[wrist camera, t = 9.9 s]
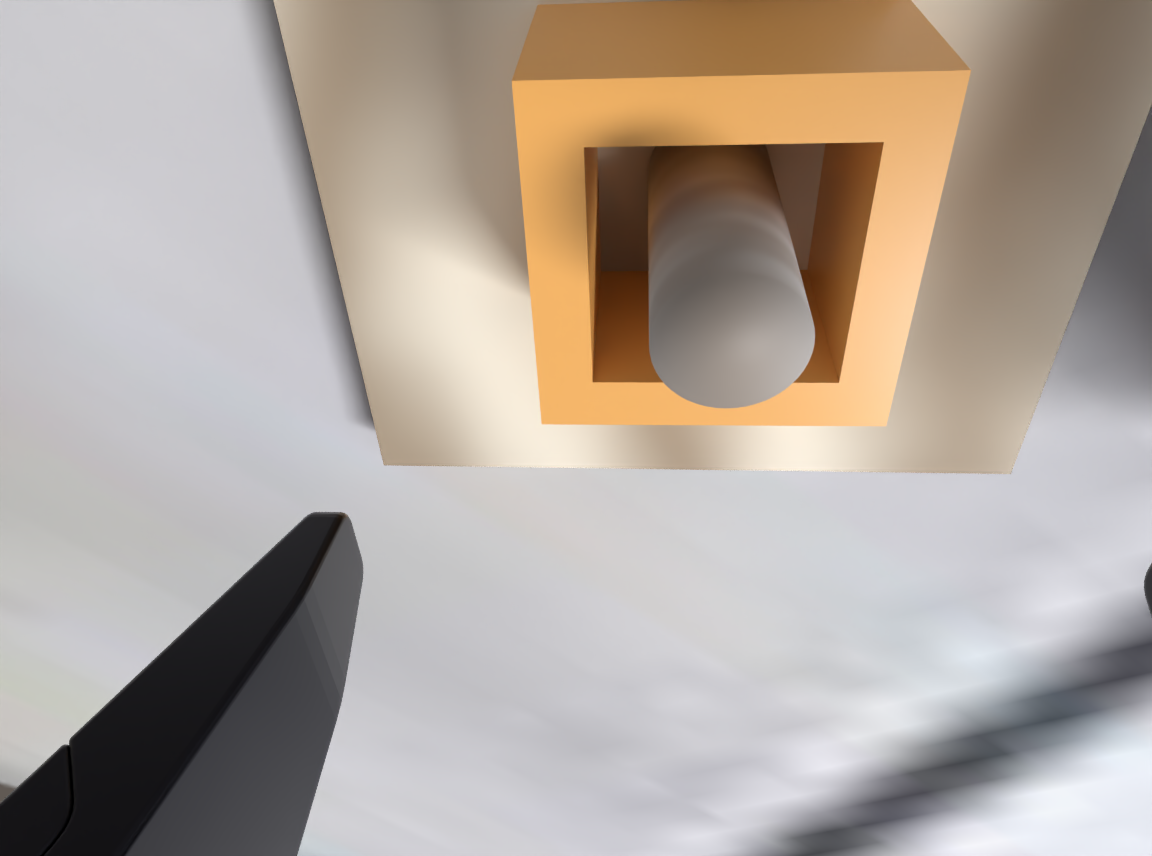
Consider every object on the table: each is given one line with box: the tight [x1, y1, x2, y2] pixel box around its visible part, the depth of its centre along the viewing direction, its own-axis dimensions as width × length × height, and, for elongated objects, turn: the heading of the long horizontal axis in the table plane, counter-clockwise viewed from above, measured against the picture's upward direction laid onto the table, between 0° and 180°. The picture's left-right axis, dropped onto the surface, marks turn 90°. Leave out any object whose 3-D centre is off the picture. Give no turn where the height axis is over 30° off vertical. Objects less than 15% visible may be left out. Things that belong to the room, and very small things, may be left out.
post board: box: [273, 0, 1152, 474], centre depth 16 cm, size 16×16×7 cm
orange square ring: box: [512, 0, 971, 426], centre depth 16 cm, size 6×6×4 cm
